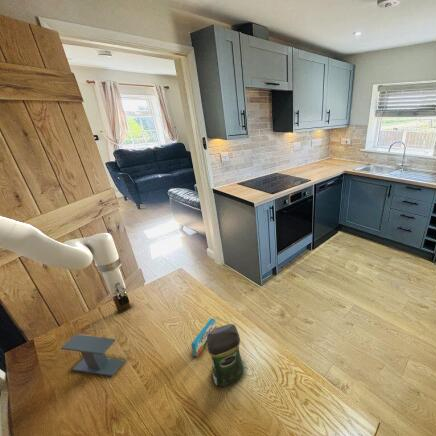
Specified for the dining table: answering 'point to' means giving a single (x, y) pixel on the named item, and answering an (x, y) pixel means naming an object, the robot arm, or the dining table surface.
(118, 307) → the domino
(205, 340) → the turquoise printed box
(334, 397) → the dining table surface
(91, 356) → the pedestal
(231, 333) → the coffee jar
